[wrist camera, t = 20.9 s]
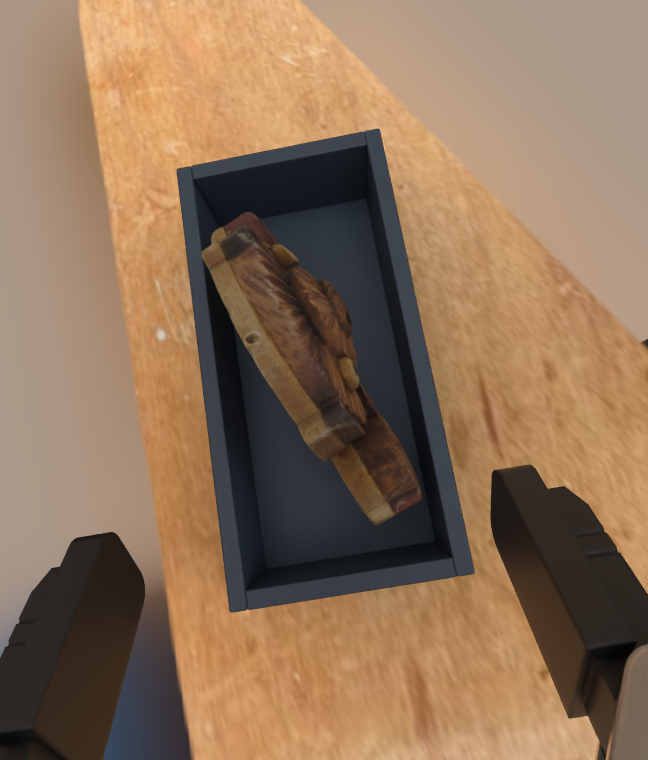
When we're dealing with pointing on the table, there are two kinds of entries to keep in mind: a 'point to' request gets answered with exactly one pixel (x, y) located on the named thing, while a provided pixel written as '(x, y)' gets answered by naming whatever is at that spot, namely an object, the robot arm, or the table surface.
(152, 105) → the table surface
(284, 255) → the wooden carving
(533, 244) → the table surface
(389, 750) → the table surface
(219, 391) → the bin
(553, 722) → the table surface
